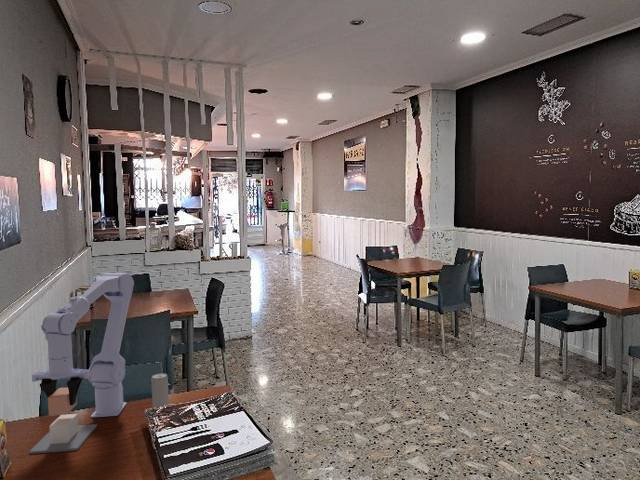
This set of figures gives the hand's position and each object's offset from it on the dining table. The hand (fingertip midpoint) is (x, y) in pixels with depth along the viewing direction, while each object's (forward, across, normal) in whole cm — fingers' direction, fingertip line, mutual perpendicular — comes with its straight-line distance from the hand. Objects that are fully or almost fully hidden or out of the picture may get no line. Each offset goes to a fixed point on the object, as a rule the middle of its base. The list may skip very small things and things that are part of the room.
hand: (63, 404), depth 128 cm
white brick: (+9, 0, 0) cm, 9 cm away
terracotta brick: (+1, 0, 0) cm, 1 cm away
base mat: (+10, 0, 0) cm, 10 cm away
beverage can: (+10, +23, +13) cm, 28 cm away
